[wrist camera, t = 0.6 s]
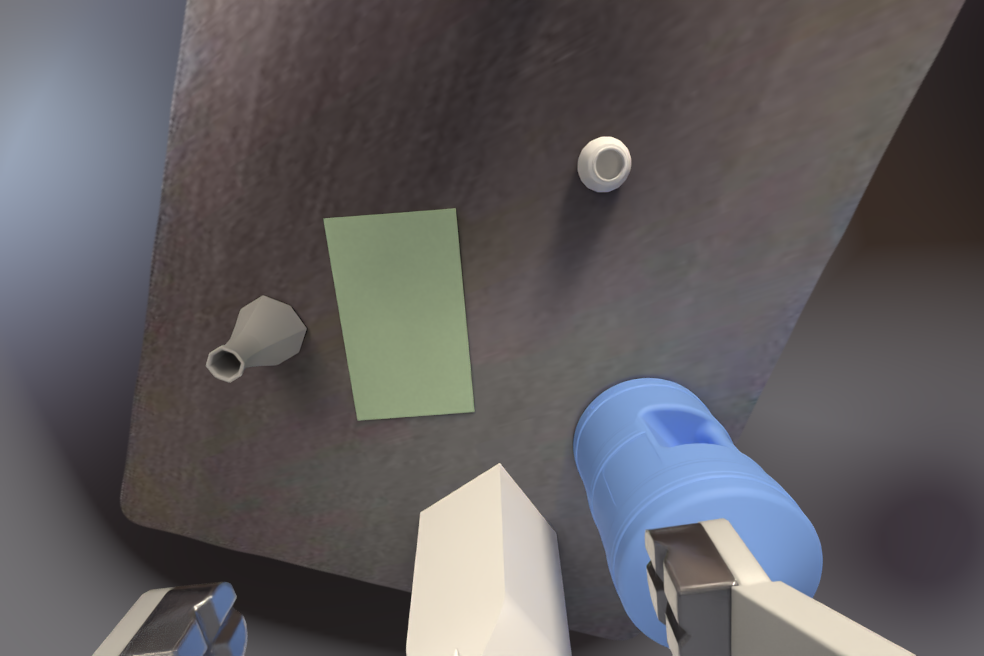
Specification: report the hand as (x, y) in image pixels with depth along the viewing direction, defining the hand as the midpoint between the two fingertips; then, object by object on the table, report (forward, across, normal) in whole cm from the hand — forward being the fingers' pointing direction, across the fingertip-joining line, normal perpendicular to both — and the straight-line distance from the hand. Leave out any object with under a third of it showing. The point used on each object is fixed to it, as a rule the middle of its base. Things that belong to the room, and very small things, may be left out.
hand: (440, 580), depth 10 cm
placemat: (+43, +8, +6) cm, 44 cm away
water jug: (+44, -15, +24) cm, 52 cm away
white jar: (+43, -13, -7) cm, 46 cm away
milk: (+44, +3, +32) cm, 54 cm away
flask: (+44, +22, +5) cm, 49 cm away
